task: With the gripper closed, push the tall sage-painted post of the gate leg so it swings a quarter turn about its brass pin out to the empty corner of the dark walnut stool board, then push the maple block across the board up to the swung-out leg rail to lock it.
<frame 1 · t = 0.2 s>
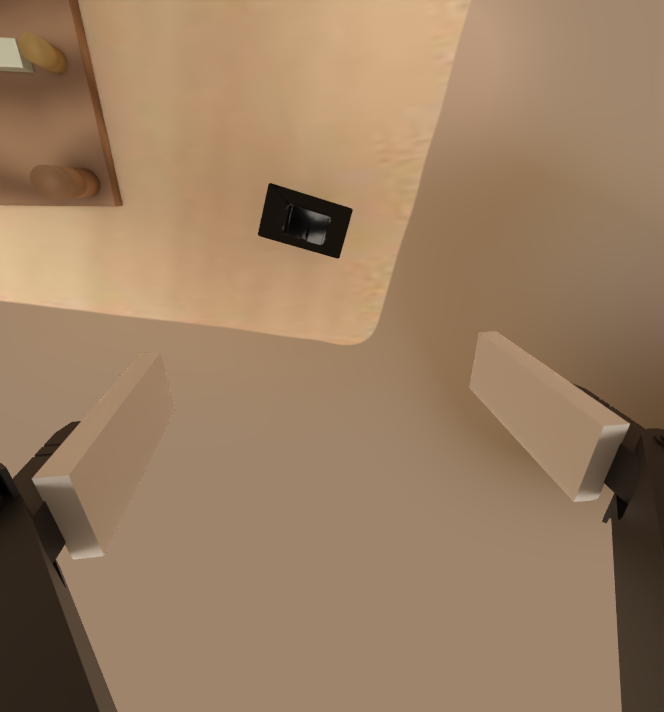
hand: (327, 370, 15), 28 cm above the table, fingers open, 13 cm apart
black bracket plate: (304, 221, 39), on the table
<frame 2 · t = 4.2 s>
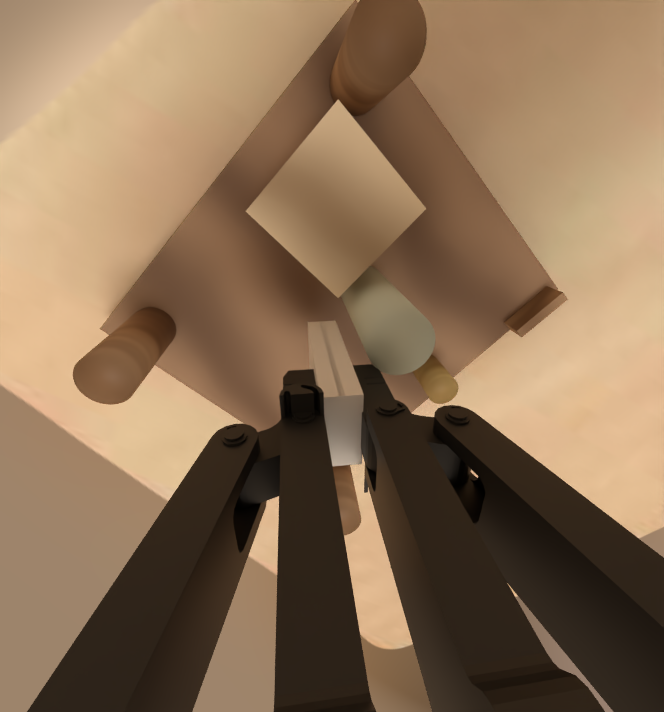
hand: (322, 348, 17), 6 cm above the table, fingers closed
maple block: (326, 203, 18), point 2 cm above the table, touching stool board
gate leg: (400, 338, 17), point 6 cm above the table, hinge at 83.8°, touching gripper
stool board: (336, 299, 22), on the table
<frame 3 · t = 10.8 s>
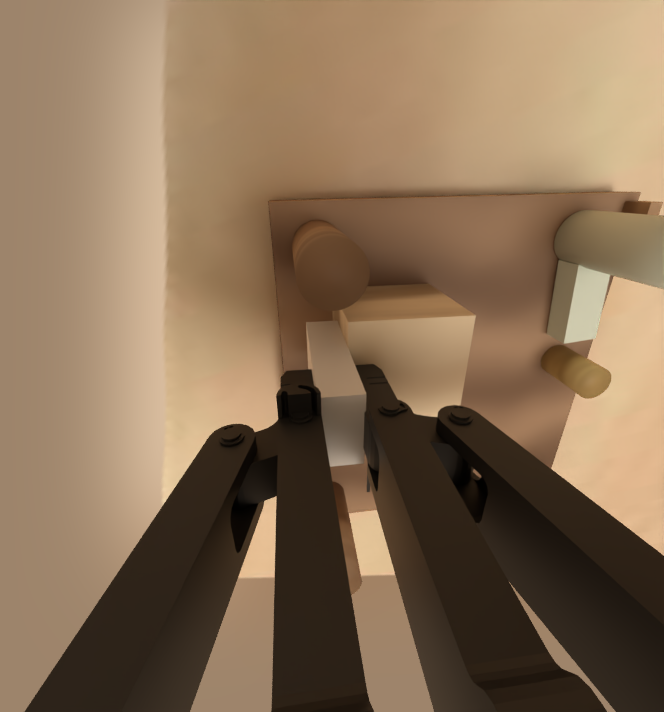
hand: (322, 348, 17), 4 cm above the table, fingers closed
maple block: (379, 331, 19), point 2 cm above the table, touching gripper
gate leg: (639, 296, 15), point 6 cm above the table, hinge at 5.6°
stool board: (430, 369, 22), on the table
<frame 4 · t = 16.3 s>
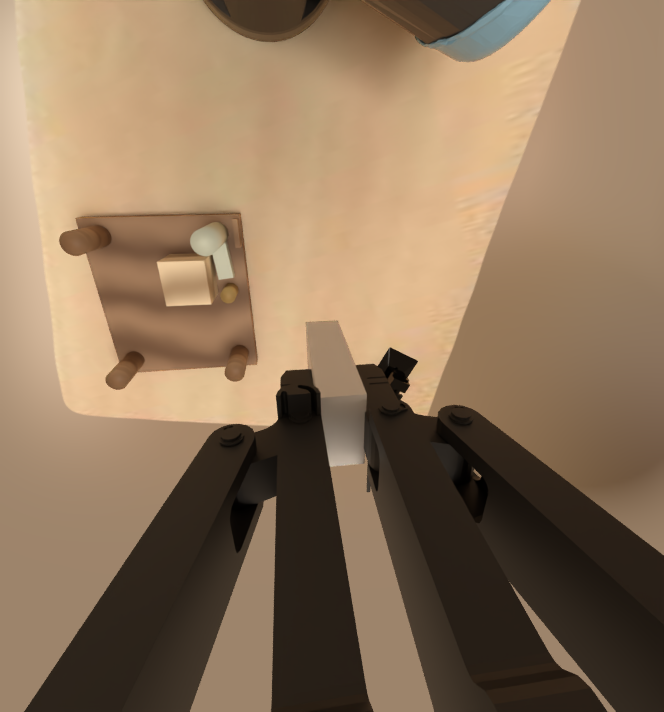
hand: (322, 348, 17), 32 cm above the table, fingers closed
maple block: (195, 274, 44), point 2 cm above the table, touching stool board
gate leg: (215, 255, 40), point 6 cm above the table, hinge at 5.6°
stool board: (179, 296, 47), on the table
black bracket plate: (387, 376, 57), on the table
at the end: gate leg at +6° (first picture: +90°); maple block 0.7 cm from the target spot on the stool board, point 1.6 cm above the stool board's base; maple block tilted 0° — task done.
